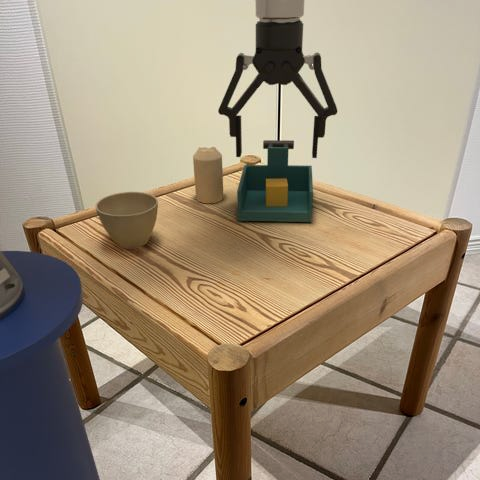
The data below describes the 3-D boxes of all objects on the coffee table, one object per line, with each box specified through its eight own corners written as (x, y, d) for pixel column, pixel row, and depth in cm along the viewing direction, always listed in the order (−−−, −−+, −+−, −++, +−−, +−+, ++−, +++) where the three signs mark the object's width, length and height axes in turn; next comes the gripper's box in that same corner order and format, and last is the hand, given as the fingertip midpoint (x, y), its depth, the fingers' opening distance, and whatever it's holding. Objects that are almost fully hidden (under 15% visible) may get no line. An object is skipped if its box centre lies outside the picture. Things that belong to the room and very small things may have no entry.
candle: (223, 192, 105) (221, 142, 99) (224, 203, 100) (222, 151, 94) (196, 193, 105) (192, 144, 99) (196, 204, 100) (192, 153, 94)
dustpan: (246, 185, 107) (245, 139, 102) (309, 186, 106) (312, 139, 101) (237, 220, 93) (236, 168, 87) (311, 221, 92) (314, 169, 86)
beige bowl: (118, 262, 82) (111, 221, 78) (93, 240, 88) (85, 200, 84) (173, 244, 86) (168, 204, 82) (145, 224, 93) (140, 186, 89)
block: (266, 206, 96) (266, 186, 94) (265, 198, 99) (265, 178, 97) (287, 206, 96) (288, 186, 94) (286, 198, 99) (286, 178, 97)
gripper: (358, 16, 82) (344, 149, 95) (204, 18, 84) (211, 148, 97) (362, 21, 76) (347, 162, 88) (196, 23, 78) (205, 161, 91)
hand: (276, 155), depth 93 cm, fingers open, 13 cm apart
